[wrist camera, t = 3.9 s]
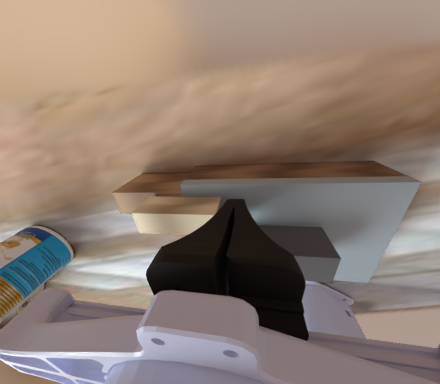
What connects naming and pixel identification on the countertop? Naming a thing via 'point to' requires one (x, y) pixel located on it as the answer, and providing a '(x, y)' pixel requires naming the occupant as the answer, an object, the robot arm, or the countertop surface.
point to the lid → (322, 218)
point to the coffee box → (21, 306)
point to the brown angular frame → (170, 182)
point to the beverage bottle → (29, 264)
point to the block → (175, 214)
